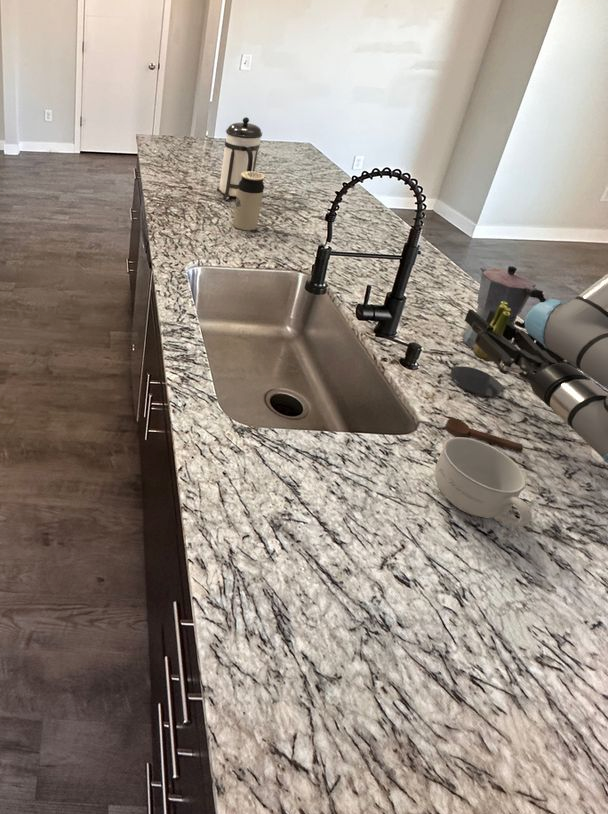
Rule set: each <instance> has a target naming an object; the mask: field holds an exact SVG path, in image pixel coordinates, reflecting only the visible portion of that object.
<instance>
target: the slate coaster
mask: <svg viewBox="0 0 608 814" xmlns="http://www.w3.org/2000/svg"><path fill="white" fill-rule="evenodd" d="M449 376H450V379H451V381H452V382H453V383H454V384H455V385H456V386H458V388H460V389H462V390H463V391H465V392H467V393H470V394H471V395H474V396H477V397H481V398H489V399H492V398H497V397H500V395H501V394H502V392H503V386H502V384H501V383H500V382H499V381H498V380H497V379H496V378H495V377H493V376H492V375H491V374H489V373H487V372H485V371H483V370H481V369H478V368H475V367H472V366H464V365H461V366H460V365H458V366H455V367H453V368H451V371H450V373H449Z"/></svg>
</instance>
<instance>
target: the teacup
mask: <svg viewBox="0 0 608 814" xmlns="http://www.w3.org/2000/svg"><path fill="white" fill-rule="evenodd" d="M434 479H435V483H436V486H437V487H438V489H439V490H440V492H441V494H442V495H444V497H445V498H446V499H447V501H449V502H450V504H452V505H453V506H454V507H456V508H457V509H458V510H460V511H462V512H464V513H466V514H468V515H471V516H475V517H480V518H486V519H494V520H495V521H497V522H503V523H505V524H508V525H510V526H513V527H517V528H522V527H523V528H524V527H526V526H528V525H530V524H531V522H532V518H533V515H532V511H531V509H530V507H529V505H528V504H527V503H526V501H524V500H523V499H521V498H519V496H520V494H521V492H523V490H524V489H525V488H526V486H527V480H526V479H527V478H526V476H525V474H524V472H523V470H522V469H521V468H520V466H519V465H518V464H517V463H516V462H515V461H514V460H513V459H512V458H511V457H509V456H508V455H507V454H505V453H504V452H502V451H500V450H499V449H497V448H496V447H494V446H492V445H490V444H488V443H487V442H484V441H482V440H479V439H475V438H471V437H470V438H469V437H466V438H463V437H456V436H454V437H451V438H449V439H447V440H445V442H444V443H443V446H442V449H441V452H440V454H439V457H438V459H437V462H436V465H435V467H434ZM514 506H515V507H516V508H517V509H518V511H519V518H518V519H517V518H514V517H512V516H510V515H508V514H507V513H508V512H510V510H511V508H512V507H514Z"/></svg>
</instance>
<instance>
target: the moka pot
mask: <svg viewBox="0 0 608 814" xmlns="http://www.w3.org/2000/svg"><path fill="white" fill-rule="evenodd" d="M479 269H480V270H481V277H480V283H479V289H478V294H477V300H476V303H477V308H476V311H475V312H476V313H477V314H478V315H479V316H480V317H481V318H483V319H484V320H485V321H486V319H487V317H488V315H489V312H490V310H494V311H496V312H497V309H498V307H499V305H500V302H502V301H504V302H506V303H508V306H507V308H510V309H511V312H510V317H509V320H508V322H509V323H511V324H512V325H514V326H516V327H519V328H521V329H525V330H526V328H525V320H524V321H523V322H520V321H519V320H517V317H518V316H519V314H521V312H522V311H523V308H524V307H525V305H526V304H527V303H528V300H529V298H533V299H537V300H539V303H540V302H545V301H546V300H547V299H546V297H545V295H544V294H543V293H544V291H543V290H541V289H537V288H536V283H535V282H534V281H532V280H530V279H529V278H528V277H526V276H525V275H522V274H518V273H516V272H517V270H518V269H517V268H516V267H515V266H511V265H510V266H508V267H507V270H506V269H497V268H494V267H492V266H491V267H490V266H487V267H480V268H479ZM488 324H489V323H488ZM476 336H477V333H476V332H475V331H474V330H473V329H472V328H471V326H470V325H469V324H468V326H467V328H466V329H465V332H464V333H463V335H462V341H463V343H464V344H465V345H466V346H467V347H470V348H471V349H472V350H473V349H474V346H475V342H474V341H475V339H476ZM503 338H504V339H505V340H506V341H508V342H509V343H511V344H512V342H513V339H512V340H507V339H506V338H505V337H504V336H503Z"/></svg>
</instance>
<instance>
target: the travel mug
mask: <svg viewBox="0 0 608 814" xmlns="http://www.w3.org/2000/svg"><path fill="white" fill-rule="evenodd" d="M241 176H242V179H241V181H240V182H239V186H238V192H237V197H236V200H235V206H234V210H233V211H234V212H233V218H232V226H233V227H235V228H236V229H239V230H241V231H254V230H256V229H257V228H258V225H259V218H260V213H261V208H262V207H261V206H262V202H263V197H264V191H265V184H264V180H265V179H266V176H265V174H263V173H261V172H258V171H255V172H252V171H247V172H243V173H241Z"/></svg>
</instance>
